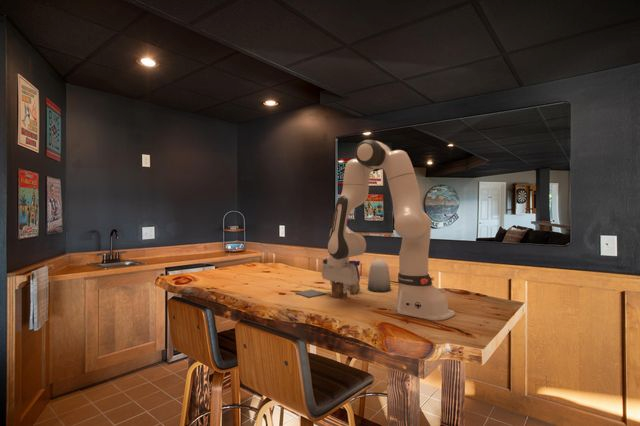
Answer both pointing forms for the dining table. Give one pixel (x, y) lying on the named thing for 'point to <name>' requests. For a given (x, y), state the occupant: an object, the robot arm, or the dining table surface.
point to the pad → (310, 293)
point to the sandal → (356, 287)
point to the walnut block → (338, 290)
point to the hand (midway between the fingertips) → (339, 291)
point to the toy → (379, 276)
